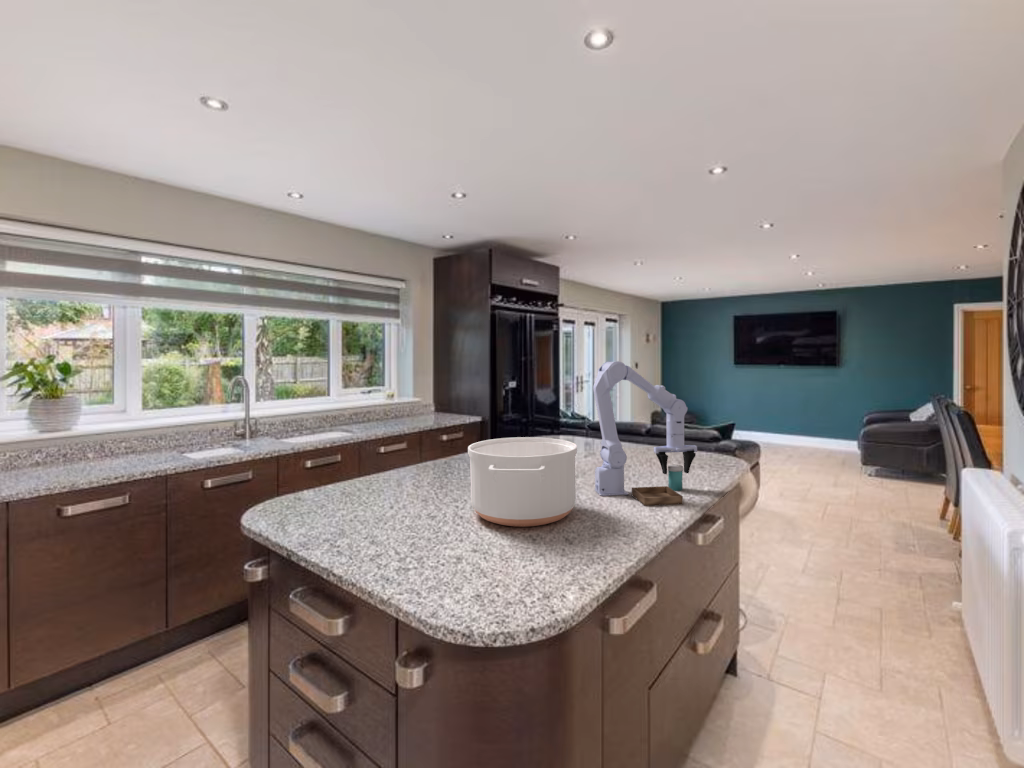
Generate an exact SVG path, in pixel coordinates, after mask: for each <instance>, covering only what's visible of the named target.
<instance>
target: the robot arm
mask: <svg viewBox="0 0 1024 768" xmlns="http://www.w3.org/2000/svg"><path fill="white" fill-rule="evenodd" d="M621 381H628V382H629V383H631V384H632V385H634V386H636V387H637V388H639V389H641V391H643V392H645V393H646V394H647V398H648V400H650V401H651V402H653V403H654V404H656V405H657V406H658V407H660V408H661V409H662V410H663V412H664V413H665V414H666V423H665V424H666V445H660V446H653V453H654V454H655V455H656V457H657V459H658V462H659V463H660V467H661V471H662V474H664V475H668V460H669V459H668V458H669V455H668V454H667V453H682V457H683V472H684V473H685V474H689V473H690V469H691V467H692V466H691V465H692V463H693V460H694V459H695V458H696V453H697V452H698V445H695V444H693V445H691V444H688V445H687V444H685V415H686V414H687V412H688V408H689V407H688V406H687V405H686V402H685V401H684V400H682V399H679V398H677V395H676V394H674V393H671V392H669V391H668V390H666V387H665V386H664V385H660V384H656V385H653V384H652V383H651V382H650V381H648V380H647V379H646V378H644V377H643V376H642V375H641V374H640V373H638V372H637V371H636V370H635V369H633V368H632V367H631V366H629V365H627V364H625V363H624V362H622V361H619V360H617V361H611V360H609V361H608V360H607V361H605V362H604V363H602V364H601V366H600V367H599V368H598V369H597V375H596V377H595V381H594V384H593V387H592V388H593V389H592V391H593V395H594V400H595V407H596V410H597V417H598V422H599V423H598V424H599V426H600V433H601V438H602V439H601V442H600V446H601V447H600V450H599V451H600V452H599V455H600V458H601V459H602V461H603V462H602V464H601V466H596V467H595V469H594V470H595V471H594V491H595V492H596V493H597V494H599V496H602V497H603V496H605V497H606V496H627V495H629V492H628V491H626V489H625V464H626V462H627V459H628V457H627V453H626V452H625V450H624V449H623V446H622V445H623V444H622V443H621V441H620V438H619V436H618V430H617V425H616V419H615V414H614V408H613V403H612V398H611V390H612V389H613V388H614V386H615V385H616V384H618V383H620V382H621Z"/></svg>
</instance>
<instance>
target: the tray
mask: <svg viewBox="0 0 1024 768" xmlns="http://www.w3.org/2000/svg"><path fill="white" fill-rule="evenodd" d="M631 496H632V497H633V498H634V499H636V500H637V501H638V502H639V503H640V504H642V505H643V506H644V507H650V506H653V507H655V506H670V505H671V506H673V505H675V506H677V505H684V504H683V502H684V501H683V499H684V498H683V495H681V494H680V493H678V491H674V490H672V489H671V488H669V487H668V486H667V485H664V486H663V485H662V486H641V487H640V486H639V487H637V486H636V487H631Z"/></svg>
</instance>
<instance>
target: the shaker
mask: <svg viewBox="0 0 1024 768" xmlns="http://www.w3.org/2000/svg"><path fill="white" fill-rule="evenodd" d="M683 472H684V465H681V464H667V475H668V478H667V479H668V480H667V484H668V486H667V487H669V488H671V489H672V490H674V491H675V492H680V491H681V492H682V491H683Z"/></svg>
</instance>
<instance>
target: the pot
mask: <svg viewBox="0 0 1024 768" xmlns="http://www.w3.org/2000/svg"><path fill="white" fill-rule="evenodd" d="M577 453H578V445H577V444H576V443H574V442H572V441H569V440H566V439H559V438H551V437H535V436H534V437H533V436H530V437H529V436H525V437H524V436H523V437H521V436H517V437H501V438H493V439H486V440H485V439H484V440H481V441H478V442H477V441H476V442H474V443H471V444H470V445H468V446H467V455H468V456H469V466H470V467H469V468H470V469H469V470H470V471H469V472H470V473H469V474H470V475H469V476H470V502H471V507H472V509H473V510H474V511H475V513H476V514H477V515H478V516H479V517H481V518H482V519H484V520H485V521H487V522H491V523H494V524H497V525H502V526H507V527H517V528H518V527H520V528H521V527H538V526H544V525H547V524H552V523H555V522H558V521H560V520H562V519H564V518H565V517H566V516H567V515H569V514H570V513H571V512H572V510H573V508H575V506H576V505H575V504H576V499H577V498H576V492H577V491H576V488H577V487H576V454H577Z"/></svg>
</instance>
